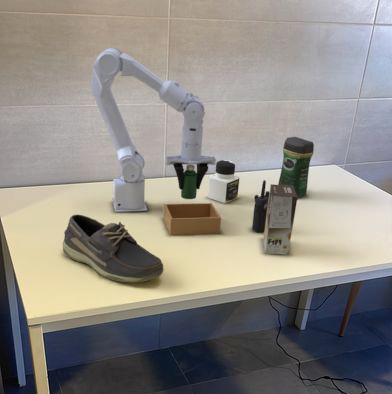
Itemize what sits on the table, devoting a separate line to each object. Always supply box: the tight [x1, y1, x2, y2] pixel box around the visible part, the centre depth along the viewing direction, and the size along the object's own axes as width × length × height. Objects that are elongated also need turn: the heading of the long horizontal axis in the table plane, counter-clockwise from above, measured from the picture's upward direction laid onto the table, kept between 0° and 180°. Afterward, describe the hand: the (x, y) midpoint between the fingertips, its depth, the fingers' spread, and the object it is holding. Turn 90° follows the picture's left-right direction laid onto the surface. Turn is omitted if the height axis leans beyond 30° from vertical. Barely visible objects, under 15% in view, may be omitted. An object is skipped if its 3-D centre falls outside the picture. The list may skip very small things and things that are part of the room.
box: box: [163, 202, 222, 236], centre depth 154 cm, size 14×11×5 cm
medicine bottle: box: [207, 159, 241, 204], centre depth 173 cm, size 7×7×12 cm
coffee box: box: [262, 183, 299, 256], centre depth 142 cm, size 9×6×16 cm
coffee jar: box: [277, 136, 315, 199], centre depth 179 cm, size 10×8×19 cm
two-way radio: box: [251, 179, 270, 233], centre depth 152 cm, size 6×4×15 cm
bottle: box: [180, 164, 198, 200], centre depth 161 cm, size 5×5×9 cm
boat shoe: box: [62, 214, 164, 283], centre depth 128 cm, size 11×29×11 cm, turn 58°
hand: (188, 188), depth 162 cm, fingers closed on bottle, 4 cm apart
